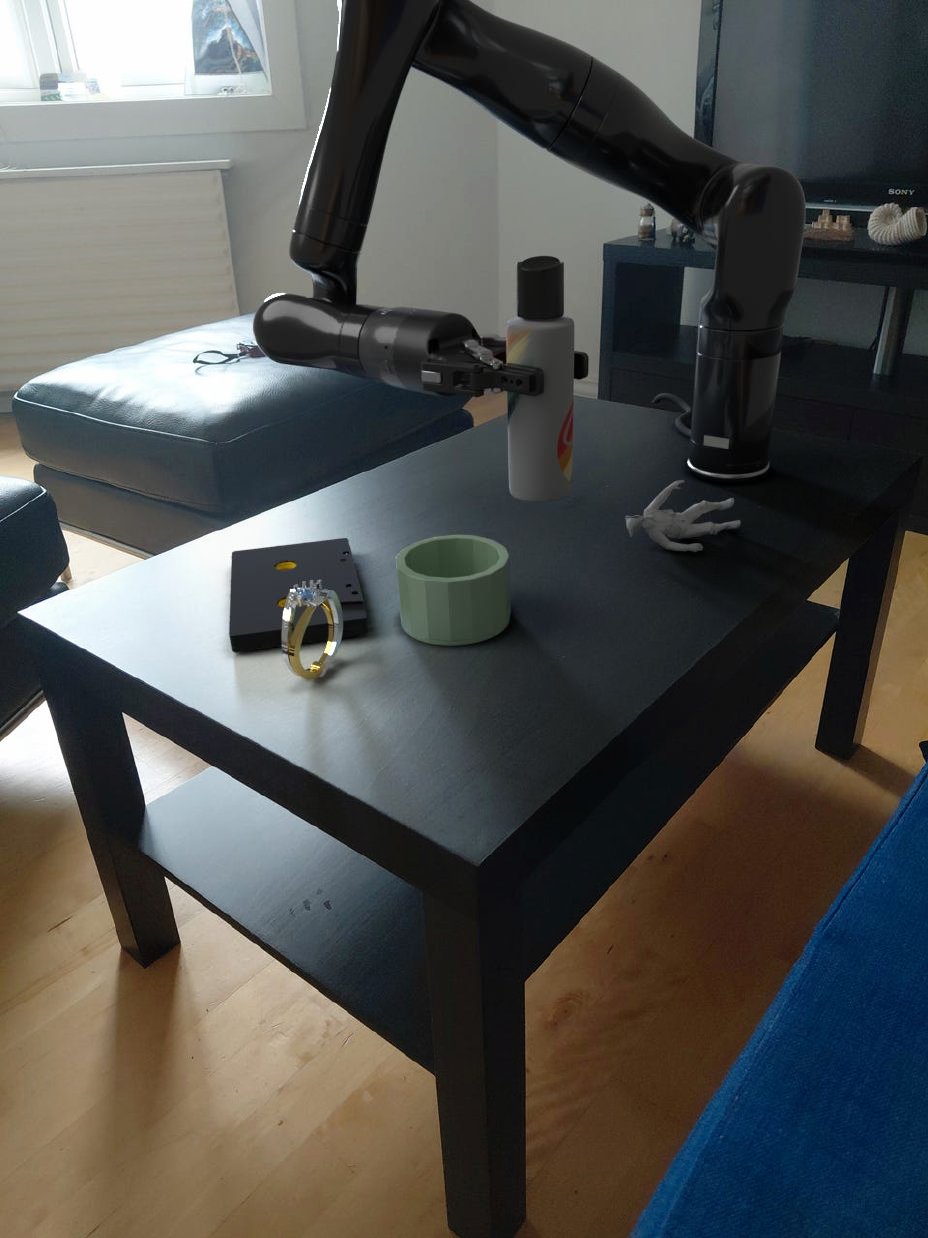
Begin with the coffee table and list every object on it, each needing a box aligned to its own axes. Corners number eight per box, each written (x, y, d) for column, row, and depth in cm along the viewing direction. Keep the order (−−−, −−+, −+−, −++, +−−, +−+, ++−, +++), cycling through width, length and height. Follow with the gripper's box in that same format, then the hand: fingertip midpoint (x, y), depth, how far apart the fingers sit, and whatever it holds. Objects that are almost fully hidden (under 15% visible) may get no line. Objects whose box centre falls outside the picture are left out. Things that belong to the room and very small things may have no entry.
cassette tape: (369, 637, 81) (366, 614, 80) (232, 655, 79) (228, 633, 78) (349, 554, 97) (347, 534, 96) (234, 568, 95) (231, 548, 94)
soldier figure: (750, 550, 95) (664, 543, 89) (716, 570, 99) (631, 563, 92) (730, 482, 98) (645, 469, 91) (697, 503, 101) (613, 493, 95)
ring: (328, 650, 79) (317, 564, 75) (360, 658, 78) (350, 571, 74) (276, 691, 74) (261, 600, 70) (308, 701, 72) (295, 608, 69)
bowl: (397, 600, 87) (391, 540, 84) (499, 589, 88) (497, 529, 85) (406, 651, 78) (400, 586, 76) (519, 639, 79) (518, 574, 77)
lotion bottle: (578, 483, 87) (582, 253, 77) (563, 506, 82) (566, 264, 73) (519, 478, 89) (516, 252, 79) (501, 500, 84) (495, 263, 74)
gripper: (359, 323, 82) (510, 345, 72) (466, 296, 92) (613, 313, 82) (366, 407, 86) (511, 440, 76) (469, 374, 95) (610, 398, 85)
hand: (563, 374), depth 79 cm, fingers closed on lotion bottle, 5 cm apart
